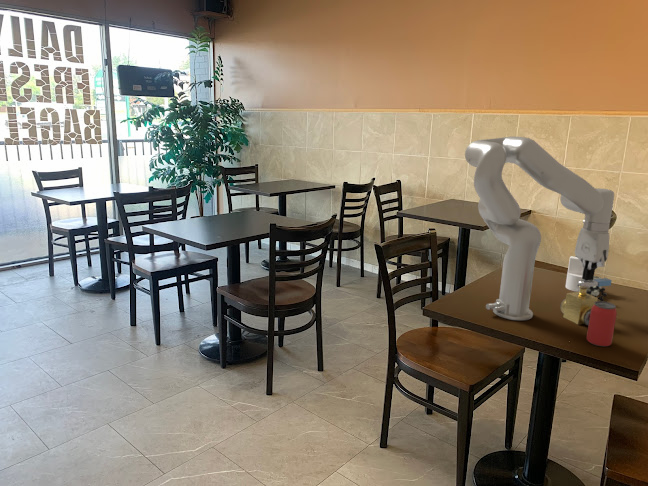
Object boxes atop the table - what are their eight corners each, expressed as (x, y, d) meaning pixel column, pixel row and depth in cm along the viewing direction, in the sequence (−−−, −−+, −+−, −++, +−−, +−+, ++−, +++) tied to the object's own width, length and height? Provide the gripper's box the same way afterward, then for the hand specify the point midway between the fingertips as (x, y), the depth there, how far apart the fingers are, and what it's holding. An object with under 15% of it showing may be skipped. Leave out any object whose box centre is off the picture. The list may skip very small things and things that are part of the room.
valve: (583, 290, 195) (584, 300, 184) (586, 274, 193) (587, 283, 182) (602, 293, 192) (605, 304, 181) (605, 277, 190) (608, 286, 180)
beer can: (584, 336, 154) (590, 299, 151) (608, 339, 152) (615, 302, 149) (588, 345, 148) (594, 307, 145) (613, 348, 146) (620, 310, 143)
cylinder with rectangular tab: (564, 289, 195) (568, 259, 192) (566, 283, 203) (570, 254, 200) (590, 294, 191) (595, 263, 188) (591, 287, 198) (596, 257, 195)
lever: (583, 289, 161) (584, 283, 161) (574, 285, 165) (575, 280, 164) (612, 286, 165) (613, 280, 164) (603, 282, 168) (604, 277, 168)
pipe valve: (600, 325, 162) (606, 292, 159) (584, 328, 160) (590, 294, 157) (572, 311, 173) (577, 280, 170) (557, 313, 171) (561, 282, 168)
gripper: (570, 222, 173) (562, 273, 177) (604, 232, 159) (595, 287, 163) (588, 221, 175) (580, 272, 179) (623, 231, 161) (614, 286, 165)
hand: (587, 279), depth 171 cm, fingers closed
